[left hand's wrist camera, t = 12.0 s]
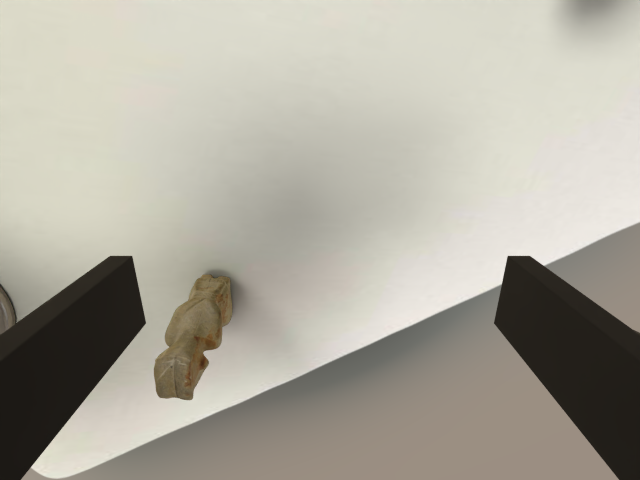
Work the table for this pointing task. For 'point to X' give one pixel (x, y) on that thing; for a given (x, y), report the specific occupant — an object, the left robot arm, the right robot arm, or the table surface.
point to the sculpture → (193, 337)
